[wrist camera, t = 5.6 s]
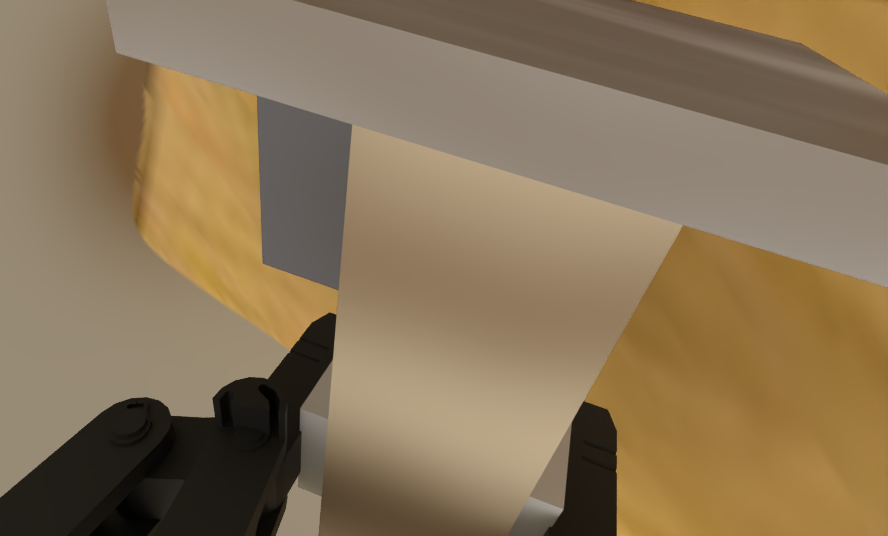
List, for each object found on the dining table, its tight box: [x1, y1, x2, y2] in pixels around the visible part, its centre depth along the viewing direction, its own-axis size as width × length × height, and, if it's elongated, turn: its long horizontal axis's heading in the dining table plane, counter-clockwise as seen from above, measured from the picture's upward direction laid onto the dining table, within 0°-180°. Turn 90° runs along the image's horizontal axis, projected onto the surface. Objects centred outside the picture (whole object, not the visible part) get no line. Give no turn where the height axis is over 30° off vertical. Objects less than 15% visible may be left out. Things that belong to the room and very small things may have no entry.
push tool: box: [106, 0, 888, 536], centre depth 12 cm, size 16×9×8 cm, turn 169°
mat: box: [257, 96, 352, 290], centre depth 25 cm, size 20×13×1 cm, turn 169°
